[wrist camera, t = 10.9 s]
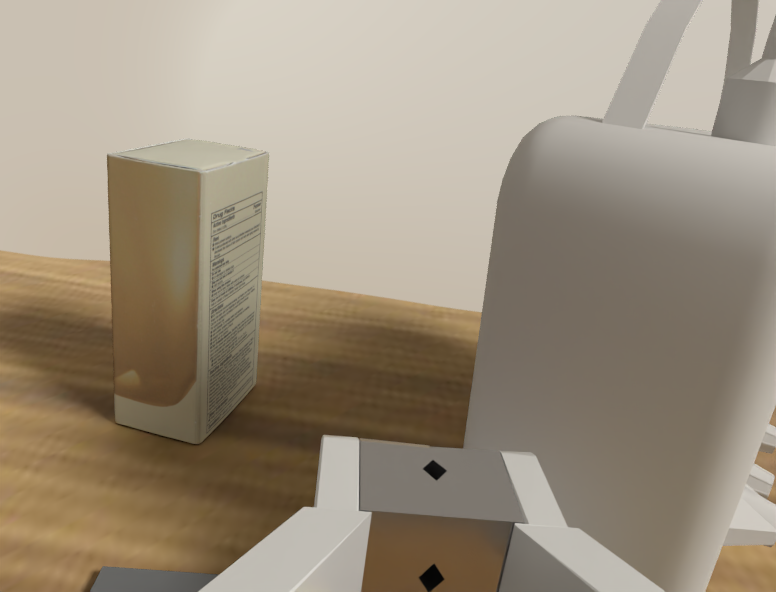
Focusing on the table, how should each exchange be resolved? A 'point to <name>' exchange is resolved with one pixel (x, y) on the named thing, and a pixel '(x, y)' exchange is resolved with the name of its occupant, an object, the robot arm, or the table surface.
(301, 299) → the table surface
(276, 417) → the table surface
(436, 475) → the robot arm
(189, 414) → the skincare box
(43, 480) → the table surface
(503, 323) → the radio
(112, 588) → the mat
